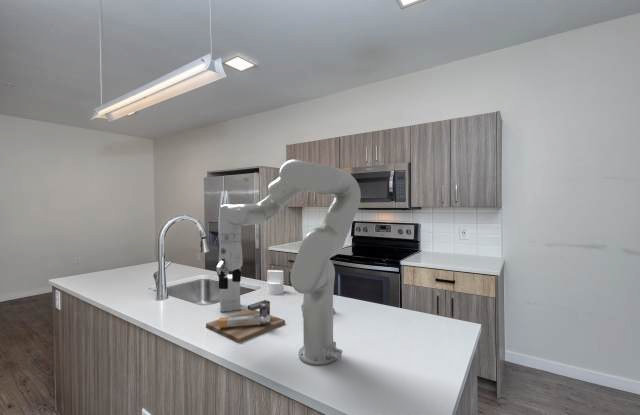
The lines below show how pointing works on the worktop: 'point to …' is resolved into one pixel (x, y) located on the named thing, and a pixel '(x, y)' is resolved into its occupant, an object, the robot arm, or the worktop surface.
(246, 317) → the link
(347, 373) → the worktop surface
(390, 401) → the worktop surface
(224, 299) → the supplement box
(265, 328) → the board
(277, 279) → the cylinder with rectangular tab
